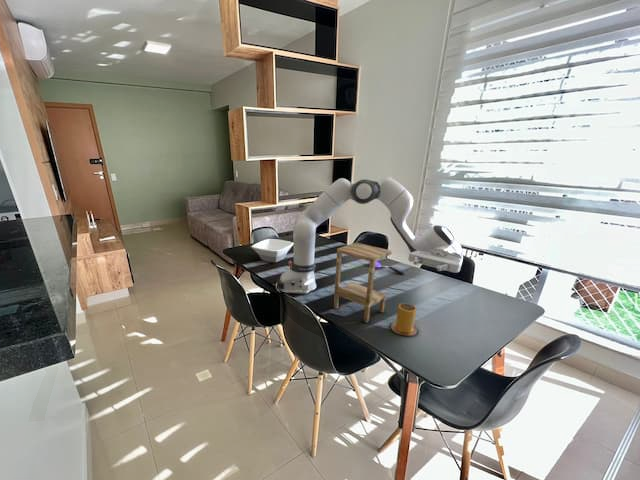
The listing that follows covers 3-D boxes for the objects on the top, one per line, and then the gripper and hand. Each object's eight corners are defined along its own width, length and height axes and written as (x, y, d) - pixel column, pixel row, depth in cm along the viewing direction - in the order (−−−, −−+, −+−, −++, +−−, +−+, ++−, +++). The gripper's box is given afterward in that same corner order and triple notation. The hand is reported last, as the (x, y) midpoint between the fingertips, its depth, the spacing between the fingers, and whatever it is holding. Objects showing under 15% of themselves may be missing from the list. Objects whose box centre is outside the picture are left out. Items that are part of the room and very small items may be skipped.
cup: (399, 333, 116) (403, 311, 112) (392, 324, 122) (395, 303, 118) (415, 332, 116) (419, 310, 112) (407, 323, 122) (411, 302, 119)
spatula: (406, 273, 174) (407, 269, 173) (400, 276, 170) (401, 272, 169) (373, 262, 191) (373, 259, 191) (366, 265, 188) (367, 261, 187)
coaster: (397, 336, 114) (397, 336, 114) (386, 323, 124) (386, 322, 123) (421, 335, 115) (421, 334, 115) (409, 322, 124) (409, 321, 124)
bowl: (296, 256, 207) (296, 242, 203) (277, 267, 187) (277, 252, 183) (269, 250, 219) (268, 237, 215) (248, 260, 199) (247, 246, 196)
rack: (366, 323, 124) (373, 258, 113) (333, 307, 137) (337, 248, 125) (383, 311, 133) (391, 250, 122) (351, 298, 145) (355, 242, 134)
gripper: (417, 245, 132) (403, 252, 123) (467, 256, 117) (454, 264, 109) (415, 258, 134) (400, 266, 126) (464, 270, 120) (451, 280, 111)
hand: (426, 265), depth 117 cm, fingers open, 8 cm apart
